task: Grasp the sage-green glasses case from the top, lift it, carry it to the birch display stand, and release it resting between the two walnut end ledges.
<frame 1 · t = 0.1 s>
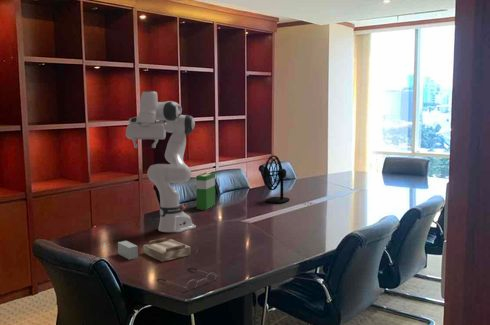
hand: (144, 147, 238), 52 cm above the table, tool tilted 20°, fingers open, 8 cm apart
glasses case: (127, 256, 232), on the table
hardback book: (206, 207, 341), on the table
eyeglasses: (187, 281, 200), on the table
display stand: (167, 253, 234), on the table
desk fan: (276, 201, 363), on the table
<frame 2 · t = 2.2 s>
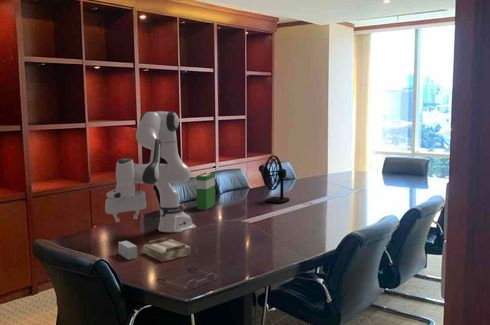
hand: (126, 220, 229), 18 cm above the table, tool pointing down, fingers open, 8 cm apart
nothing on the table moved.
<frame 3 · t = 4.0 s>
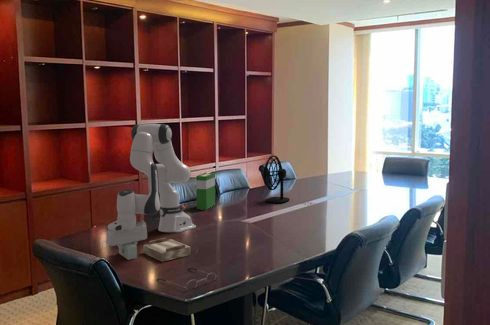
hand: (127, 251, 231), 2 cm above the table, tool pointing down, fingers closed on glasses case, 5 cm apart
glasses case: (127, 255, 232), on the table, touching gripper
everything else where it was.
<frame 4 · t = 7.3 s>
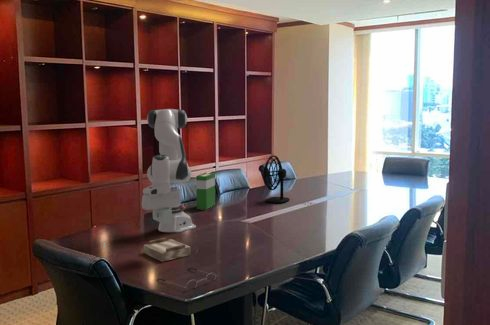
hand: (162, 216, 232), 19 cm above the table, tool pointing down, fingers closed on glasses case, 5 cm apart
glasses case: (162, 220, 232), point 17 cm above the table, touching gripper
everything else where it was.
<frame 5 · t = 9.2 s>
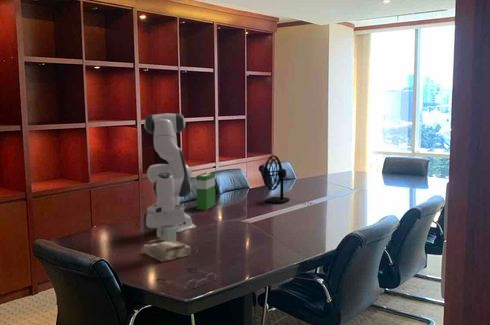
hand: (166, 234, 233), 10 cm above the table, tool pointing down, fingers closed on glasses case, 5 cm apart
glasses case: (166, 238, 233), point 8 cm above the table, touching gripper
everything else where it was.
when the fingers open (7 cm above the table, at t = 10.6 s): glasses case stays where it is, resting on display stand.
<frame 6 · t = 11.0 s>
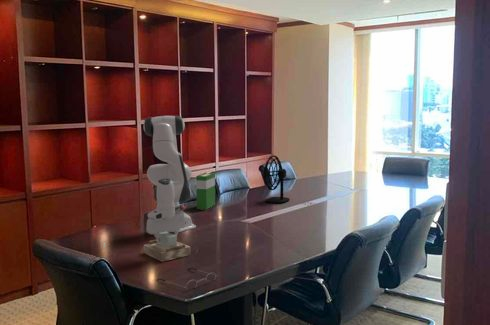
hand: (166, 239, 234), 7 cm above the table, tool pointing down, fingers open, 8 cm apart
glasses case: (166, 245, 234), point 4 cm above the table, touching display stand
everything else where it was.
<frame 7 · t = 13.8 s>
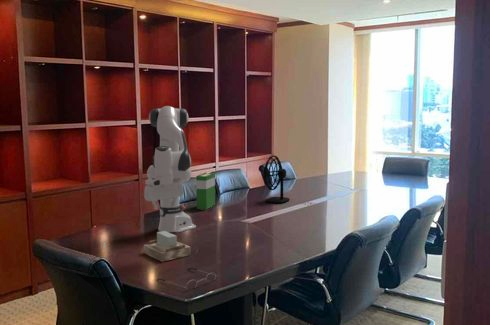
hand: (164, 207, 233), 23 cm above the table, tool pointing down, fingers open, 8 cm apart
nothing on the table moved.
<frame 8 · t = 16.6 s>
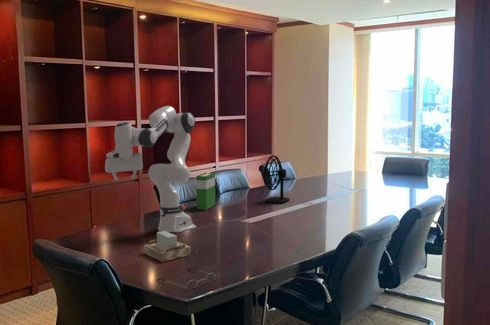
hand: (124, 179, 250), 34 cm above the table, tool pointing down, fingers open, 8 cm apart
nothing on the table moved.
at the end: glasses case 0.1 cm off-centre on the display stand, point 4.0 cm above the display stand's base; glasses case tilted 0°; the gripper is holding nothing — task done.
